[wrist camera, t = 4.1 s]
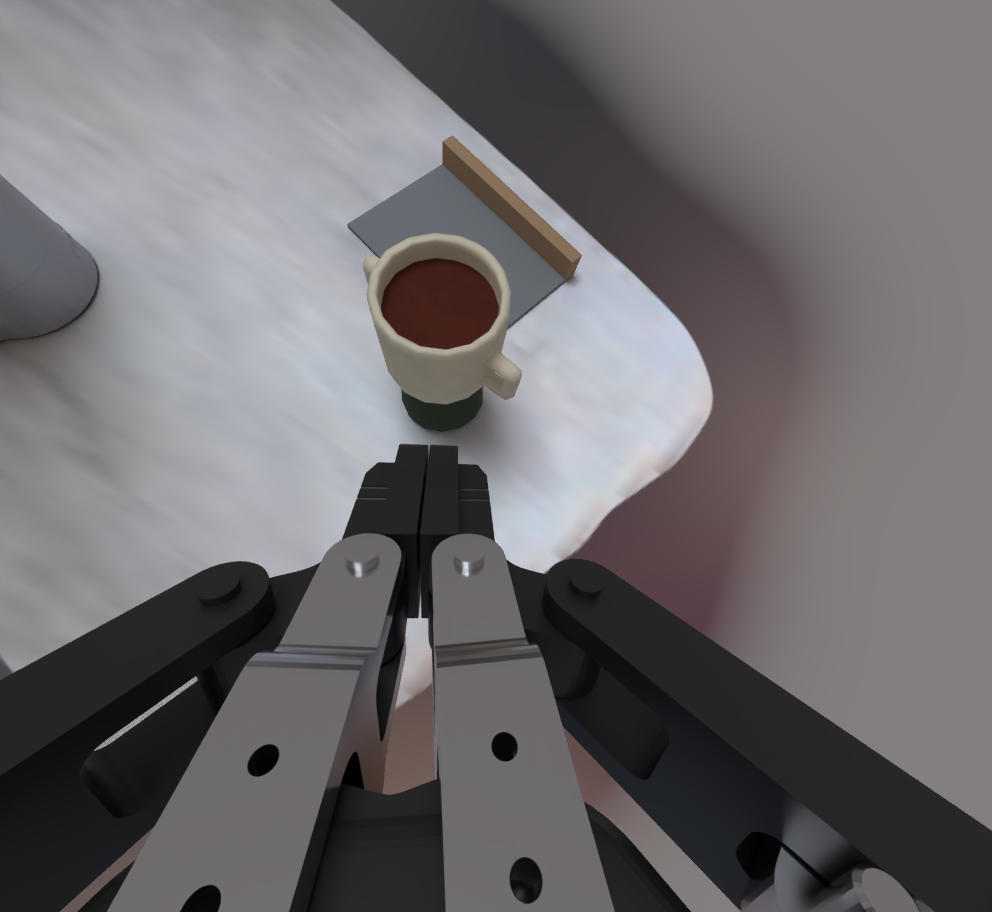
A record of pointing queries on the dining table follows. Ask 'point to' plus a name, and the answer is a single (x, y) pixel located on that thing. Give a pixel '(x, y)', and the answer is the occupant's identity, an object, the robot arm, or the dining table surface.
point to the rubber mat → (475, 225)
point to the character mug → (442, 325)
